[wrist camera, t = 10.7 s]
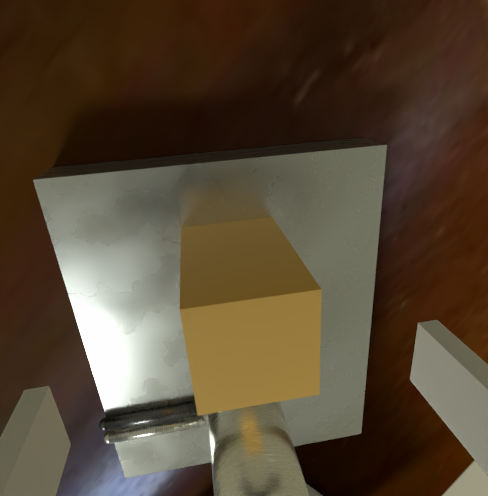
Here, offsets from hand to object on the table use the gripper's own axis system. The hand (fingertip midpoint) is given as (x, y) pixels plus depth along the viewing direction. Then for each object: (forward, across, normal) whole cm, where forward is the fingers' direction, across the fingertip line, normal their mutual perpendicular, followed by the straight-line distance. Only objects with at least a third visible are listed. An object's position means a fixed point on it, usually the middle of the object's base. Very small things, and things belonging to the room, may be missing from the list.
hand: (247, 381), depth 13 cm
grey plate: (+12, +1, -5) cm, 13 cm away
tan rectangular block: (+9, +1, 0) cm, 9 cm away
